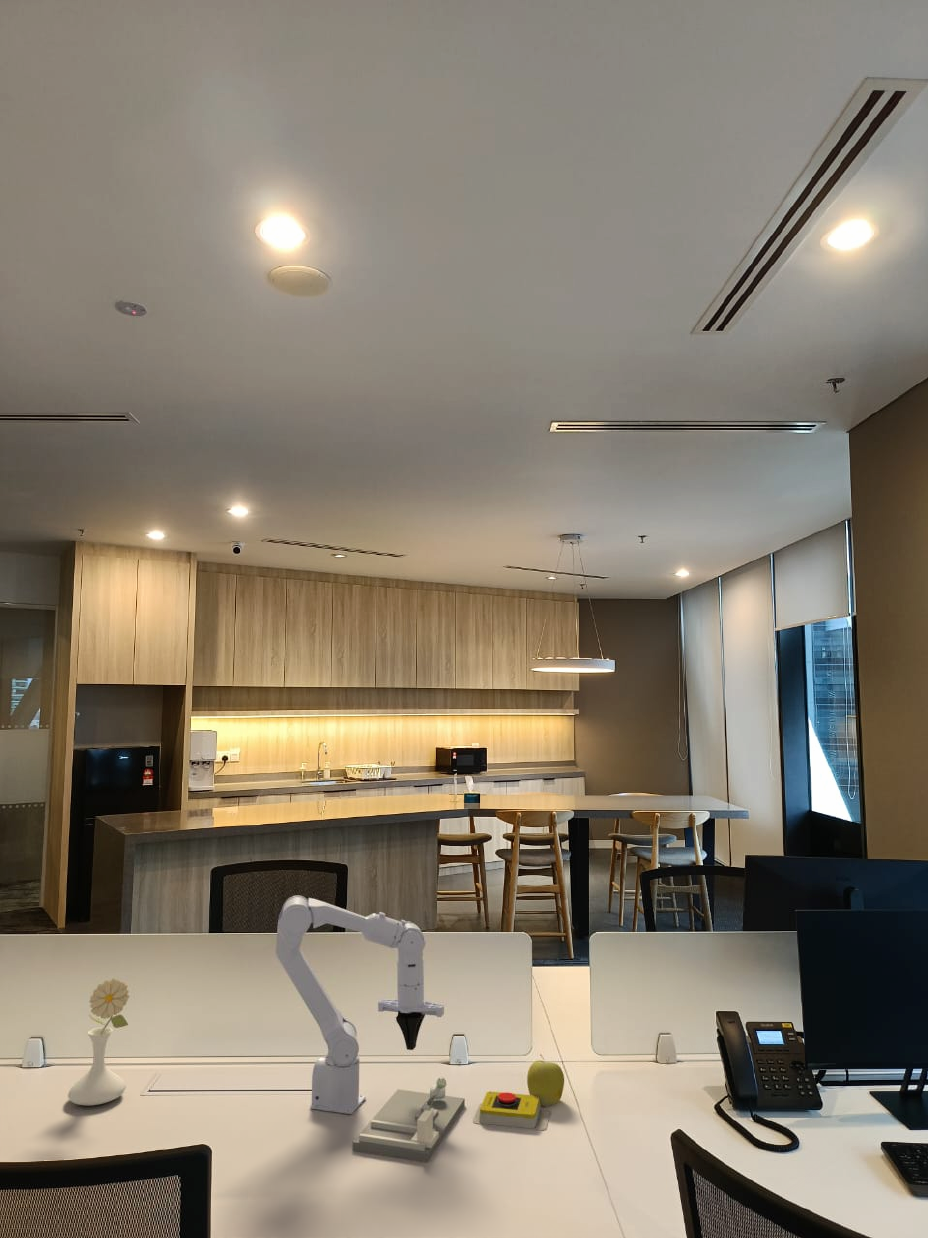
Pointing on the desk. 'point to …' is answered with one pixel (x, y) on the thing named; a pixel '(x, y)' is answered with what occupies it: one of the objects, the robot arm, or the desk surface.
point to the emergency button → (512, 1111)
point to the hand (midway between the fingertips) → (411, 1048)
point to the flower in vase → (102, 1047)
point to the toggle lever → (434, 1094)
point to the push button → (440, 1094)
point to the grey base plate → (407, 1126)
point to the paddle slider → (425, 1130)
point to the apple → (545, 1082)
